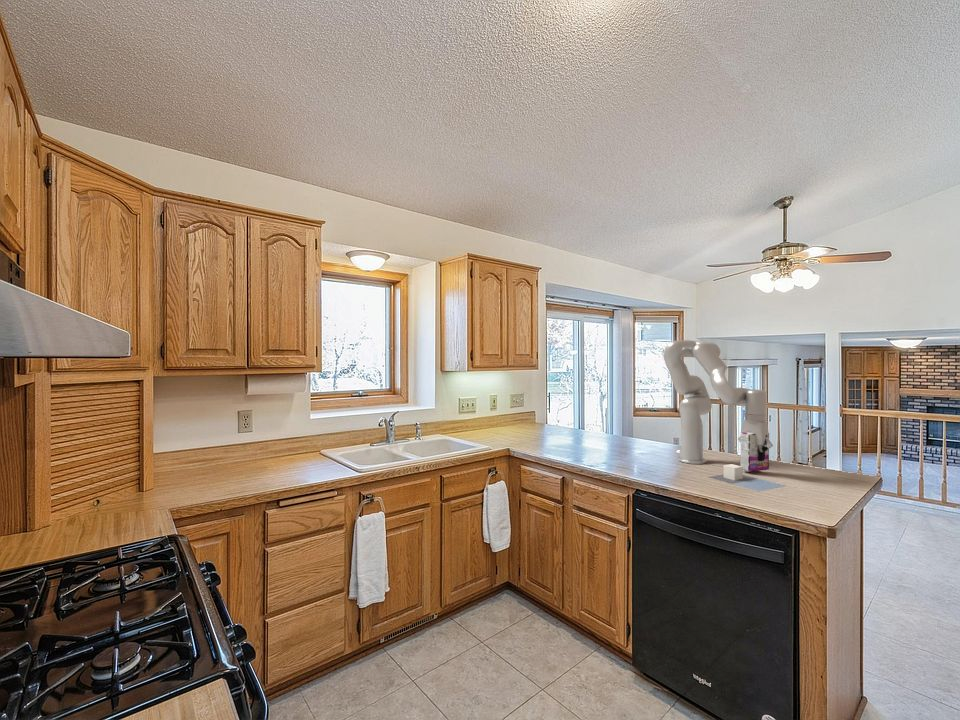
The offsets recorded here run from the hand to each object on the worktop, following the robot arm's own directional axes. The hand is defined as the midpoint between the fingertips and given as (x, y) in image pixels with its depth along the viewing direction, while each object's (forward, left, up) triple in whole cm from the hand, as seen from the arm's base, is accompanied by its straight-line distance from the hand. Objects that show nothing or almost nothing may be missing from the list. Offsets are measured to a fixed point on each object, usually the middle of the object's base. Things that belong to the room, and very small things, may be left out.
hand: (754, 458), depth 198 cm
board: (+8, -17, -7) cm, 20 cm away
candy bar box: (0, 0, -5) cm, 5 cm away
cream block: (+2, -17, -6) cm, 18 cm away
